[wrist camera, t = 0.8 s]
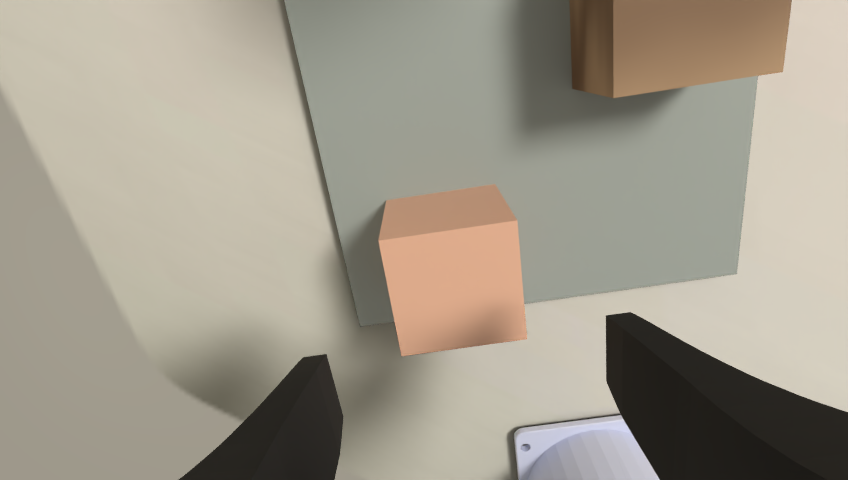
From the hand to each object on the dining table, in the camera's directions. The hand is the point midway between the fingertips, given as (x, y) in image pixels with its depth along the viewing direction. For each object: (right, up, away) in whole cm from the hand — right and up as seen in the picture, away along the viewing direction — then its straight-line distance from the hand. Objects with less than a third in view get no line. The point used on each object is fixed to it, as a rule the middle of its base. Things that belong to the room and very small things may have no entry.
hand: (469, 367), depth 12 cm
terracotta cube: (0, +3, +8) cm, 9 cm away
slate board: (+3, +8, +7) cm, 11 cm away
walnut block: (+7, +12, +5) cm, 14 cm away
